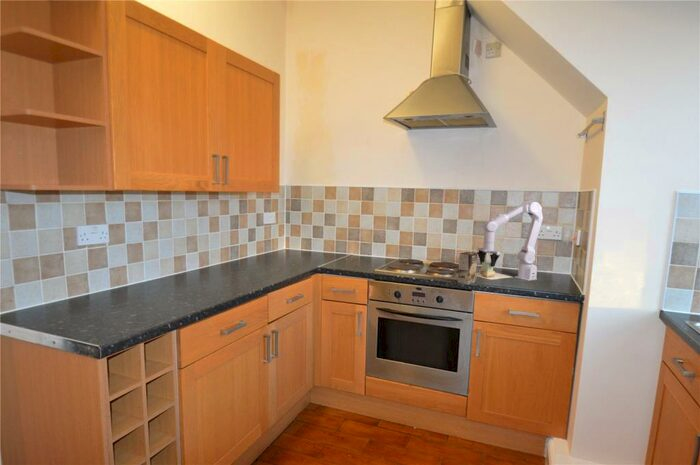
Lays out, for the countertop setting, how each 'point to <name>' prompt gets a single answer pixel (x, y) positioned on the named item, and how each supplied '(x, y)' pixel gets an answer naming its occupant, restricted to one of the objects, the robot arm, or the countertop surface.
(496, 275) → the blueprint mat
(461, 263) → the coffee box
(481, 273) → the beech base block
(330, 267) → the countertop surface
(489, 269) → the green cube
